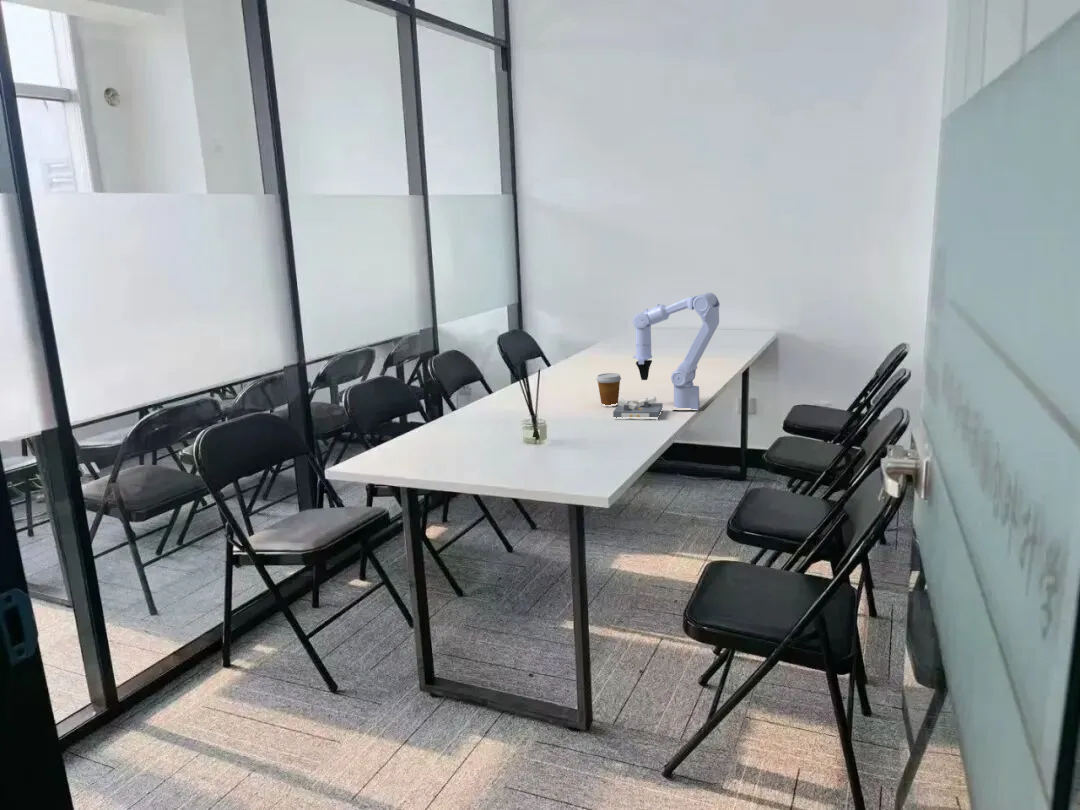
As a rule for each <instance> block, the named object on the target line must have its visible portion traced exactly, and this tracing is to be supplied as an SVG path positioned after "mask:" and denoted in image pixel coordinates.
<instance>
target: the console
mask: <svg viewBox="0 0 1080 810" xmlns="http://www.w3.org/2000/svg"><path fill="white" fill-rule="evenodd" d="M634 403H635V404H637V405H636V408H635V409H634V410H632V409H629V405H624V407H623V406H621V405H618V406H616V407H615V409H613V411H612V412H613V413H612V415H613V416H612V417H616V418H617V417H622V418H623V417H658V416H659V414H660V412H661V410H662V408H663V405H664V404H663V402H655V403H651V404H649V402H644V405H642V406H639V404H638V402H634ZM663 409H664V408H663Z"/></svg>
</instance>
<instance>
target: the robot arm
mask: <svg viewBox="0 0 1080 810" xmlns="http://www.w3.org/2000/svg"><path fill="white" fill-rule="evenodd" d="M720 305H721V303H720V301H719V298H718V297H717V295H716V294H715V293H713V292H706V293H704V294H698V295H694V296H689V297H686V298H684V299H682V300H681V299H680V300H679V301H676V302H675V303H672V304H670V305H668V306H667V305H665V304H661V305H660V303H659V304H656V305H655V306H654V307H652V308H649V309H648V308H647V309H644V311H642V312H638V313H636V314H635V315H634V316H633V317H632V324H633V327H634V328H635V354H636V355H633V356H632V358H633V359H636V360H637V361H636V362H635V365H636V366H637V368H638V370H639V371H638V372H639V375H640V379H641V381H647V380H648V379H649V372H650V369H651V365H652V363H653V360H652V358H653V355H652V331H651V329H652V328H651V327H652V325H655V324H658V323H661V322H663V321H666V320H668V319H669V317H670V316H671V314H674V313H677V312H680V311H684V310H686V309H689V310H691V311H693V310H694V311H695V312H696V313H697V314H698V316H699V317H700V319H701V321H702V325H701V327H700V328H699V330H698V333H696V334H697V335H696V336H695V338H694V339H693V342H692V344H691V345H690V347H689V349H688V352H686V353H687V354H686V355H685V357H684V358H683V360H682V362H681V363H680V364H679V366H678V367H677V369H675V370H674V371H673V372H672V373H671V376H670V380H671V383H672V384H673V407H677V408H691V409H697V411H696V412H699V410H698V409H700V407H699V406H700V405H701V401H700V386H699V385H694V382H693V381H694V380H695V378H696V371H697V369H698V364H699V362H700V361H701V358H702V356H703V354H704V353H705V351H706V349H707V347H708V345H709V343H710V341H711V339H712V337H713V335H714V334H715V332H716V329H717V328H718V326H719V325H720V324H719V323H720Z"/></svg>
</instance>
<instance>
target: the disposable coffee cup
mask: <svg viewBox="0 0 1080 810" xmlns="http://www.w3.org/2000/svg"><path fill="white" fill-rule="evenodd" d="M621 379H622V377H621V375H620V374H619V373H615V372H607V373H601V374H598V375H597V377H596V381H597V385H598V392H599V398H600V403H602V404H605V405H611V404H616V403H618V404H619V396H620V386H621ZM602 404H601V405H602Z"/></svg>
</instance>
